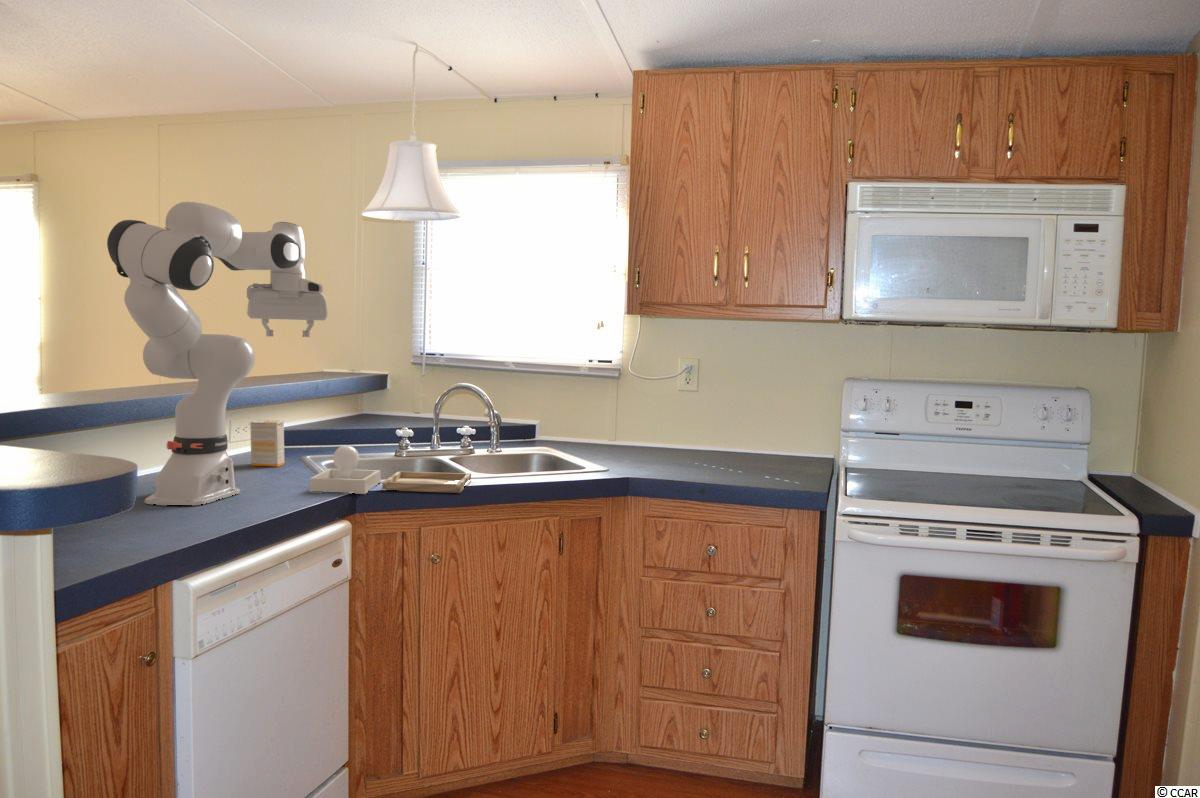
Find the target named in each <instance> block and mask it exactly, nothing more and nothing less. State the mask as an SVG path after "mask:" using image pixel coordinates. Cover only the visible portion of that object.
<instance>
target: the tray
mask: <svg viewBox="0 0 1200 798" xmlns="http://www.w3.org/2000/svg"><path fill="white" fill-rule="evenodd" d="M470 479H471V480H472V473H469V472H468V473H465V472H462V473H461V472H457V473H456V472H438V471H436V472H433V471H432V472H431V471H404V470H403V471H400V470H398V471H396V472H395V473H394V474H392V475H391V476H389V477H388V478H387V479H385V480H383V481H382V487H381V488H382V489H385V490H384V491H387V490H397V491H396V492H421V493H423V492H424V493H448V494H449V493H451V494H453V493H454V494H455V493H456V494H461V493H462V492H463V490H464V489H465V488H464V485H465V483H466V482H467V481H468V480H470ZM455 480H460V481H459V482H458V483H457V484H444V483H447V482H448V481H455ZM398 490H399V491H398Z"/></svg>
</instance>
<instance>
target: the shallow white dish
mask: <svg viewBox="0 0 1200 798" xmlns="http://www.w3.org/2000/svg"><path fill="white" fill-rule="evenodd" d="M381 471H382V470H380V469H378V470H377V469H356V468H354V470H353V474H352V479H341V476H340V473H339V470H338V468H327V469H325V470H323V471H321V472H319V473H317V474H316V475H313V476H311V477H309V492H310V491H334V492H353V493H355V494H357V495H358V494H360V495H366V494H367V493H369V492H368V490H369V489H370V488H372V487H373V486H375V485H377V484H378V483H379V482H381V480H382V479H381V476H382V475H381V474H382V473H381ZM377 486H378V485H377ZM355 494H354V495H355Z"/></svg>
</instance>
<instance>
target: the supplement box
mask: <svg viewBox="0 0 1200 798" xmlns="http://www.w3.org/2000/svg"><path fill="white" fill-rule="evenodd" d="M284 422H285V420H272V419H271V420H270V419H269V420H268V419H267V420H265V419H257V420H256V419H255V420H253V421H250V422H249V424H250V463H251V465H250V466H251V467H273V468H276V467H277V468H278V467H281V466H284V465H285V425H284Z"/></svg>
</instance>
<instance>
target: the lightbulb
mask: <svg viewBox="0 0 1200 798" xmlns="http://www.w3.org/2000/svg"><path fill="white" fill-rule="evenodd" d="M332 456H333V457H332V459H333V462H334V465H335V466H336V469H338V470H339V473H340V476H341V479H352V474H353V470H354V469H356V466H357V465H358V463H359V460H360V453H359V452H358V450H357V449H356V448H355V447H354V446H352V445H341V446H339V447H337V448H336V449H335V451H334V453H333V455H332Z"/></svg>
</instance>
